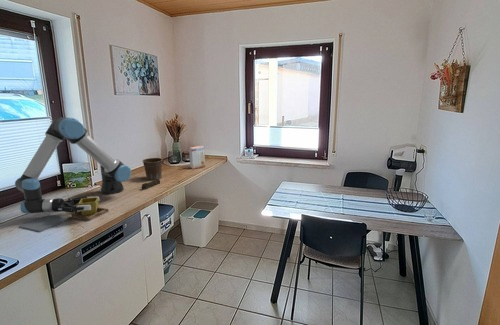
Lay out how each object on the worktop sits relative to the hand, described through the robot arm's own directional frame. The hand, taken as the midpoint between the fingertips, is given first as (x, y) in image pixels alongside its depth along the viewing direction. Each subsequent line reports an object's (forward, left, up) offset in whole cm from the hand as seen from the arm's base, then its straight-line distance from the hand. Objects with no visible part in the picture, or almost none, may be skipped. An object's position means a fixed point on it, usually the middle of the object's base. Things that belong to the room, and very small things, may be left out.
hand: (94, 202), depth 158 cm
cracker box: (-119, -1, -7) cm, 120 cm away
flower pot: (+2, -3, -7) cm, 8 cm away
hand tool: (-53, -4, -7) cm, 54 cm away
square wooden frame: (+2, -3, -7) cm, 8 cm away
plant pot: (-73, -17, -7) cm, 76 cm away
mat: (+19, -16, -7) cm, 25 cm away
